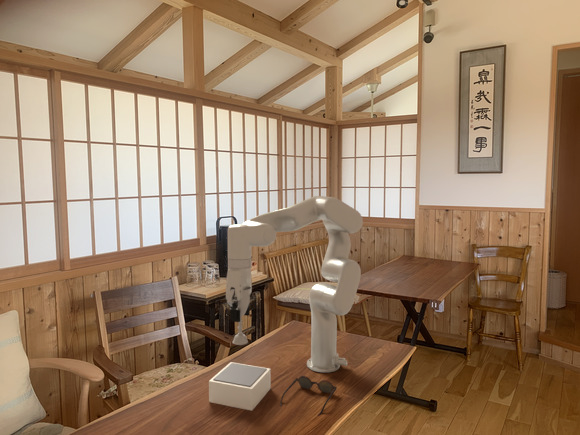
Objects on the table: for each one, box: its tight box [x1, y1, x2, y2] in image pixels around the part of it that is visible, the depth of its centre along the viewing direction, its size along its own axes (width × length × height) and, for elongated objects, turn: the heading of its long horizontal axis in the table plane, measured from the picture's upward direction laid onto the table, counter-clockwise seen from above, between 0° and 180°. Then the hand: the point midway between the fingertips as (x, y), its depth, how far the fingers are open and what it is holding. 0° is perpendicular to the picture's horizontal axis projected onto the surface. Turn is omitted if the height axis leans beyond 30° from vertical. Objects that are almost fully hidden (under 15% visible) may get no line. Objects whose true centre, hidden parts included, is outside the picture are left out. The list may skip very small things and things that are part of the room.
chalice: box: [232, 286, 251, 346], centre depth 144 cm, size 7×7×18 cm
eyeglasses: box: [279, 375, 337, 416], centre depth 143 cm, size 15×15×5 cm
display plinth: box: [208, 361, 272, 411], centre depth 146 cm, size 15×15×7 cm
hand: (240, 317), depth 144 cm, fingers closed on chalice, 6 cm apart
